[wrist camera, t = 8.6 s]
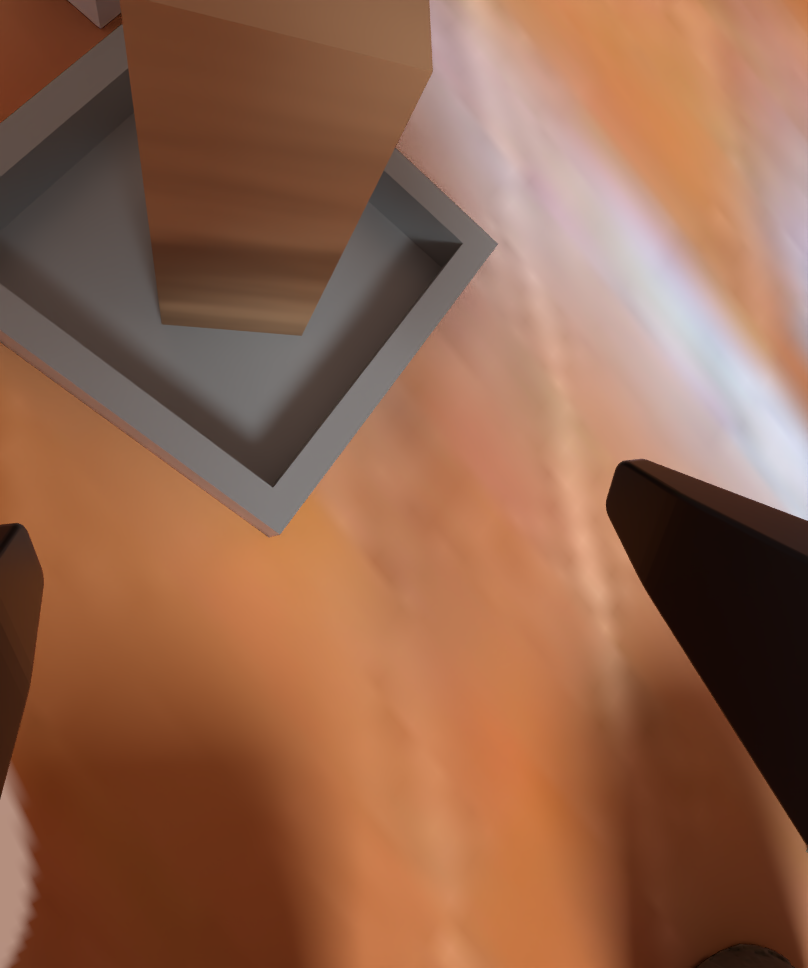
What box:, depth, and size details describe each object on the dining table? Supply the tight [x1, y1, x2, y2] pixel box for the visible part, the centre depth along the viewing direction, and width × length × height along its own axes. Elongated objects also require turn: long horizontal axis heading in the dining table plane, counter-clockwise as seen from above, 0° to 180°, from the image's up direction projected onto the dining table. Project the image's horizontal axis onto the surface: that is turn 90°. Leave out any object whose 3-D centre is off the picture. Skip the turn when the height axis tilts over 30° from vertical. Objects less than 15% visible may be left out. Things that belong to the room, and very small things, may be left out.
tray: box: [0, 24, 498, 537], centre depth 20 cm, size 13×13×3 cm
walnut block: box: [120, 0, 433, 336], centre depth 14 cm, size 4×4×12 cm
